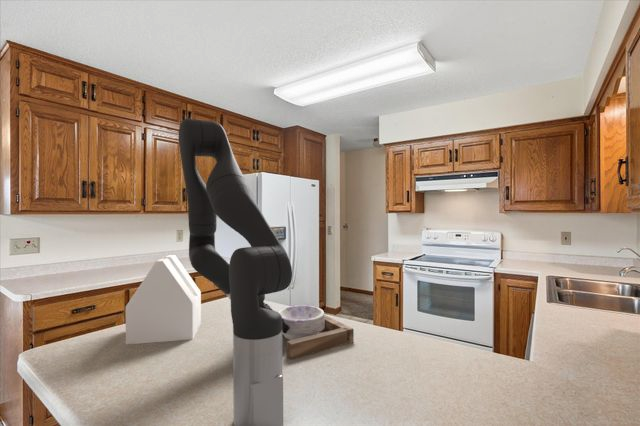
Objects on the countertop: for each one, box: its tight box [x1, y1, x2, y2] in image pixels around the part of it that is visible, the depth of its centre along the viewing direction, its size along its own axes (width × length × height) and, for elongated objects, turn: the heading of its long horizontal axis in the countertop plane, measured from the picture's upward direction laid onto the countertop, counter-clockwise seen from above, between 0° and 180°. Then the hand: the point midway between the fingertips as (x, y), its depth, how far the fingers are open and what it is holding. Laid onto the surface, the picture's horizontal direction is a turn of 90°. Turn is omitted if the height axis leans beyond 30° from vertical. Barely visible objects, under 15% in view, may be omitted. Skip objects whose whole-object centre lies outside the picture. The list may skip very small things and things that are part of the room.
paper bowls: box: [277, 305, 326, 341], centre depth 105 cm, size 15×15×8 cm
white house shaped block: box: [125, 254, 202, 345], centre depth 108 cm, size 19×15×25 cm
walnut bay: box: [286, 314, 355, 360], centre depth 105 cm, size 25×22×4 cm
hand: (280, 326), depth 101 cm, fingers open, 8 cm apart
